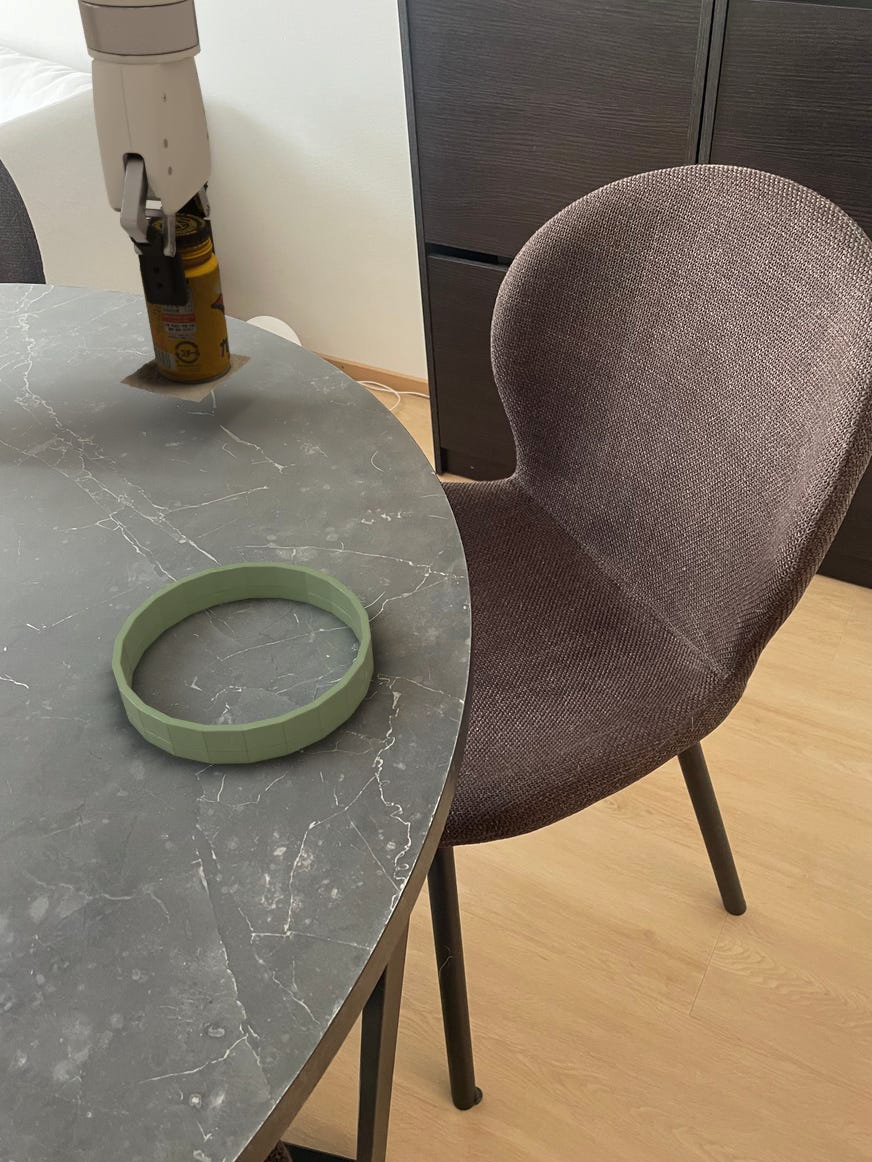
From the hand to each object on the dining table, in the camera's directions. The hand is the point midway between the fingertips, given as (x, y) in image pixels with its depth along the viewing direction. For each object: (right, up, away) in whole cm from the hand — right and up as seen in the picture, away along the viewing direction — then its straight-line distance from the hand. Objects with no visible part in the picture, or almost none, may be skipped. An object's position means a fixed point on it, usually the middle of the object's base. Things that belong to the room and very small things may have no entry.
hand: (183, 283), depth 82 cm
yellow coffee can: (-1, -6, +4) cm, 8 cm away
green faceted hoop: (+9, -31, -18) cm, 37 cm away
